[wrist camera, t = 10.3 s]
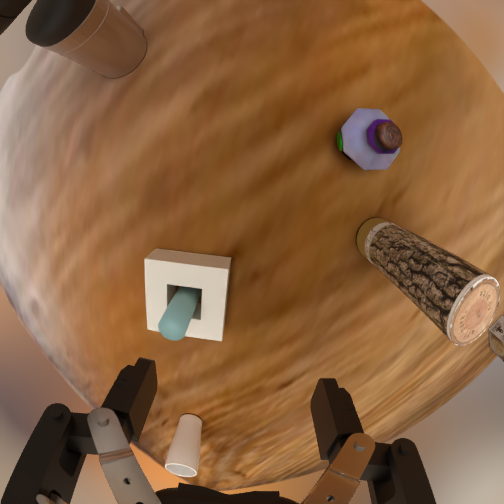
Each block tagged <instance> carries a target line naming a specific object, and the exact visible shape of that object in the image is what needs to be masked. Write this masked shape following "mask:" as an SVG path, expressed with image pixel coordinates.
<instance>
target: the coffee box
mask: <svg viewBox="0 0 504 504" xmlns="http://www.w3.org/2000/svg"><path fill="white" fill-rule="evenodd" d="M488 331H489V342H490V348H491V349H492V350H493V351H494V352H495V353H496V354H497V355H498V356H499V357H500V358H501V359H502V360H503V361H504V316H503V315H501V316H500V318H499V319H498V320H497V321H496V322H495V323H494V324H493V325H492V326H491V327H490V328H489V330H488Z"/></svg>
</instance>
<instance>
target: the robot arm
mask: <svg viewBox="0 0 504 504" xmlns="http://www.w3.org/2000/svg"><path fill="white" fill-rule="evenodd" d="M31 1H32V0H0V35H1V34H2V33H3V32H4V31H5V30H6V29H7V28H8V27H9V25H10V24H11V23H12V22H13V21H14V20H15V19H16V17H17V16H18V15H19V14H20V13H21V12H22V11H23V9H24V8H25V7H26V6H27V5H28V4H29V3H30V2H31ZM143 31H144V30H143V29H142V28H141V27H140V26H139V24H138V23H137V22H136V21H135V20H134V19H133V18H132V17H131V16H130V15H129V14H128V12H127V11H126V10H125V9H124V8H123V7H122V6H114V5H113V4H112V3H111V2H110V1H109V0H37V2H36V4H35V5H34V7H33V9H32V11H31V13H30V15H29V17H28V20H27V24H26V36H27V38H28V39H29V40H30V41H31V42H32V43H34V44H37V45H39V46H41V47H44V48H46V49H48V50H51V51H53V52H55V53H58V54H60V55H62V56H64V57H67V58H69V59H71V60H73V61H75V62H77V63H79V64H81V65H83V66H85V67H87V68H89V69H91V70H93V71H95V72H97V73H99V74H101V75H103V76H105V77H108V78H118V77H122V76H124V75H126V74H128V73H130V72H131V71H132V70H134V69H135V68H136V67H137V66H138V65H139V64H140V62H141V61H142V59H143V58H144V55H145V53H146V49H147V42H146V39H145V38H144V36H143ZM156 391H157V374H156V365H155V361H154V360H150V359H145V358H141V357H140V358H139V359H138V360H137V362H136V364H135V366H131V365H128V366H126V367H125V368H124V369H122V370H121V371H120V373H119V375H118V377H117V379H116V380H115V382H114V385H113V386H112V388H111V389H110V391H109V393H108V395H107V397H106V399H105V401H104V402H103V404H102V406H101V407H100V408H96V409H94V410H92V411H91V412H90V413H88V414H84V413H73V412H70V410H69V408H68V407H67V406H65V405H63V404H60V403H55V404H51V405H50V406H48V407H47V408H46V410H45V411H44V413H43V415H42V417H41V418H40V420H39V422H38V424H37V425H36V427H35V429H34V431H33V433H32V435H31V436H30V439H29V440H28V442H27V444H26V446H25V448H24V450H23V452H22V454H21V456H20V458H19V460H18V462H17V465H16V466H15V469H14V471H13V473H12V475H11V477H10V480H9V482H8V484H7V487H6V489H5V492H4V494H3V497H2V499H1V504H70V502H71V498H72V495H73V492H74V489H75V486H76V483H77V480H78V477H79V474H80V471H81V468H82V466H83V463H84V460H85V458H86V455H87V454H95V455H96V454H97V455H99V461H100V464H101V467H102V469H103V472H104V474H105V477H106V479H107V481H108V484H109V486H110V488H111V490H112V492H113V495H114V497H115V499H116V501H117V503H118V504H299V503H296V502H295V501H293V500H290V499H288V498H284V497H280V496H279V491H252V492H246V493H239V494H231V495H228V494H224V493H221V492H218V491H215V490H212V489H209V488H206V487H202V486H196V485H190V484H184V483H179V485H178V488H167V489H163V490H160V491H157V492H154V490H153V489H152V487H151V485H150V483H149V482H148V480H147V478H146V476H145V474H144V473H143V471H142V469H141V467H140V465H139V463H138V461H137V459H136V457H135V455H134V453H133V451H132V450H131V448H130V446H129V444H130V442H131V440H133V441H136V442H138V441H139V438H140V435H141V433H142V430H143V427H144V424H145V421H146V419H147V416H148V413H149V410H150V408H151V405H152V402H153V400H154V397H155V394H156ZM311 413H312V418H313V422H314V427H315V432H316V437H317V442H318V447H319V452H320V458H321V460H329V466H328V467H327V469H326V470H325V471H324V473H323V474H322V476H321V477H320V479H319V480H318V481H317V483H316V484H315V485H314V487H313V488H312V490H311V491H310V492H309V493H308V495H307V496H306V497H305V498H304V499H303V501H302V502H301V503H300V504H349V502H350V500H351V499H352V497H353V495H354V493H355V492H356V490H357V488H358V486H359V484H360V481H359V480H367V482H368V487H369V492H370V497H371V502H372V504H436V502H435V499H434V495H433V492H432V489H431V487H430V483H429V480H428V478H427V475H426V472H425V469H424V467H423V464H422V461H421V458H420V455H419V453H418V450H417V448H416V445H415V444H414V443H413V442H412V441H411V440H409V439H406V438H400V439H397V440H395V441H394V442H393V443H392V444H385V443H377V442H374V440H373V439H372V438H371V437H370V436H369V435H367V434H364V431H363V429H362V426H361V423H360V420H359V417H358V415H357V412H356V410H355V406H354V404H353V401H352V398H351V395H350V394H349V393H348V392H347V391H346V390H345V389H344V388H339V387H338V384H337V381H336V379H335V378H320V379H319V381H318V383H317V386H316V389H315V391H314V394H313V396H312V399H311Z"/></svg>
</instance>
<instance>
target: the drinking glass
mask: <svg viewBox="0 0 504 504" xmlns="http://www.w3.org/2000/svg"><path fill="white" fill-rule="evenodd" d="M201 429H202V420H201V419H200V418H199V417H197V416H195V415H192V414H184V415H182V416H181V417H180V420H179V423H178V426H177V429H176V432H175V434H174V437H173V440H172V442H171V445H170V448H169V451H168V454H167V458H166V463H165V468H166V469H167V470H168V471H169V472H171V473H173V474H175V475H179V476H183V477H193V476H196V475H197V472H198V467H199V461H200V444H201Z"/></svg>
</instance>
